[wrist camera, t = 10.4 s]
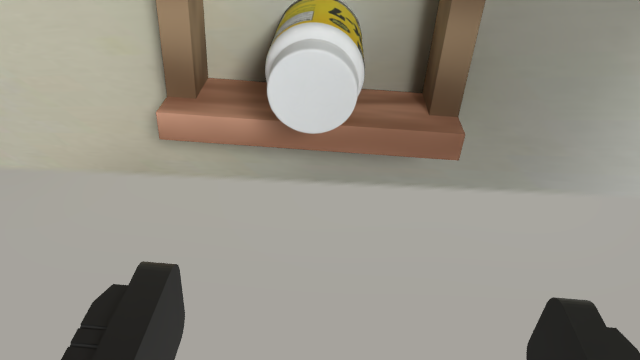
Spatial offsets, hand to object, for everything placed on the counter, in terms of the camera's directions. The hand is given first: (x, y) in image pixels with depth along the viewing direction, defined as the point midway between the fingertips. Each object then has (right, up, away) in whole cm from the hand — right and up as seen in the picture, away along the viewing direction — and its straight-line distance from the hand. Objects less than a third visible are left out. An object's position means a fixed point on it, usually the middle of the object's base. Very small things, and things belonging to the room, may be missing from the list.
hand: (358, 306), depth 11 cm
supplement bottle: (-1, +11, +18) cm, 21 cm away
